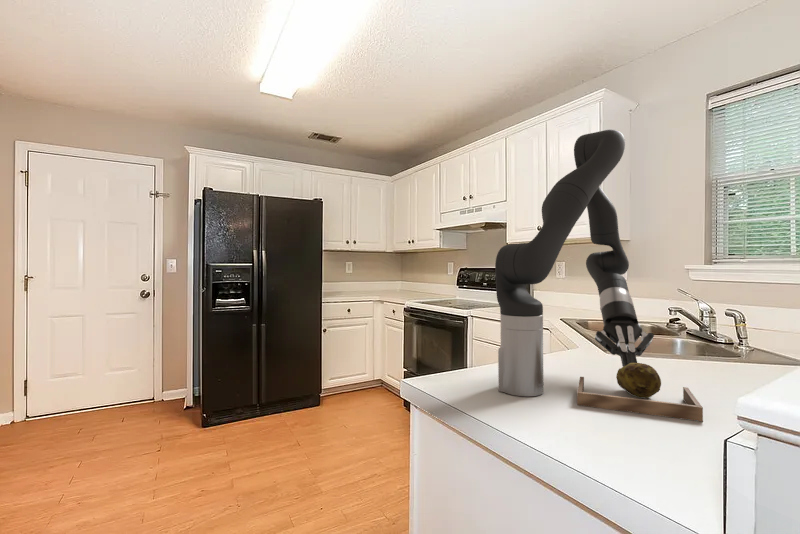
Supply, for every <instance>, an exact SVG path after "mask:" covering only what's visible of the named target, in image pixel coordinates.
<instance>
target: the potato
mask: <svg viewBox="0 0 800 534" xmlns="http://www.w3.org/2000/svg"><path fill="white" fill-rule="evenodd" d="M616 382H617V384H618V386H619V387H620V388H621V389H622V390H624V391H626V392H628V394H630V395H631V396H634V397H635V398H636V397H637V398H639V399H648V398H651V397H653V396H654V395H656V394H657V393H658V392H659V391H661V386H662V380H661V376H660V374H659V373H658V372H657V370H656V369H655V368H654V367H653V366H651V365H650V364H646V363H642V362H641V363H640V362H637V363H630V364H628V365H626V366H624V367H623V366H622V367H619V369H618V370H617V373H616Z"/></svg>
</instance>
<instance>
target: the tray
mask: <svg viewBox="0 0 800 534" xmlns="http://www.w3.org/2000/svg"><path fill="white" fill-rule="evenodd" d="M682 388H683V389H682V392H683V395H682V396H683V398H682V399H683V400H684V402H685V403H680V402H679V403H678V402H672V401H671V402H669V401H659V400H651V399H646V398H638V397H637V398H636V397H626V396H620V395H609V394H602V393H592V392H584V391H585V377H584V376H579V382H578V387H577V391H576V392H577V393H576V395H577V396H576V397H577V398H576V399H577V400H576V401H577V402H576V403H577V406H581V405H582V407H590V408H591V407H592V408H598V409H603V410H604V409H605V410H612V411H613V410H614V411H618V412H619V411H621V412H628V413H637V414H643V415H652V416H657V415H658V416H659V417H665V416H666V418H667V417H668V418H672V417H674V418H673V419H680V418H682V420H688V419H690V420H689V421H695V420H698V421H697V422H703V421H704V411H703V410H704V409H703V406H702V404H701V403H700V402H699V401H698V399H697V398H696V396H695V395H694V394H693V393H692V391H691V390H690V388H689V387H687V386H686V387H685V386H684V387H682Z"/></svg>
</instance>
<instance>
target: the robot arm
mask: <svg viewBox="0 0 800 534" xmlns="http://www.w3.org/2000/svg"><path fill="white" fill-rule="evenodd" d="M625 141H626V139H625V136H624V135H623V133H622V132H621V131H619V130H616V129H605V130H600V131H596V132H590V133H586V134H582V135H580V136H579V137H577V139H576V141H575V143H574V147H573V156H574V157H573V158H574V163H575V167H576V168H575V169H573V170H572V171H570V172H569V173H567V174H565V175H564V176H563V177H561V179H559V180H558V181H557V182H556V183H555V184H554V186H553V187H552V188H551V189H550V190H549V192H548V194H547V195H546V196H545V198H544V200H543V201H542V205H541V218H542V223H543V224H542V226H541V228H540V230H539V231H538V232H537V234H536V235H535V236H534V238H533V239H532V240H530V241H529V242H523V243H522V242H521V243H511V244H509V243H508V244H506V245H503V246H502V247H500V248H499V250H498V251H497V253H496V256H495V257H496V258H495V267H494V268H495V269H494V270H495V273H494V274H495V275H494V276H495V287H496V289H495V290H496V299H497V303H498V305H499V308H500V309H499V310H500V317H499V318H500V347H498V350H497V351H498V352H497V354H498V355H497V357H498V361H497V362H498V365H497V366H498V375H497V377H498V381H497V382H498V392H501V393H506V394H508V395H512V396H517V397H518V396H519V397H535V396H536V397H537V396H541V395H543V394H544V384H545V383H544V307H543V303H542V302H541V301H540V300H538V299H537V298H535V297H533V296H532V295H531V294H530V293H529V291H528V289H527V285H537V284H540V283H542V282H543V281H544V280H546V279H547V277H548V276H549V274H550V273H551V271H552V269H553V267H554V265H555V262H556V261H557V258H558V256H559V255H560V252H561V250H562V248H563V246H564V244H565V242H566V240H567V238H568V237H569V235H570V233H571V231H572V230H573V228H574V227H575V225H576V224H577V222H578V221H579V219H580V218H581V216H582V214H583V213H584V212H585V209H586V208H587V215H588V222H589V233H590V234H589V236H590V240H591V242H592V244H594V245H598V246H608V247H610V248H611V249H612V250H607V251H597V252H592V253H590V254H589V255H588V256H587V257H586V261H585V266H586V269H587V272H588V274H589V275H590V277H591V278H592V279H593V281H594V283H595V284H596V287H597V291H598V296H599V307H600V308H599V309H600V313H601V317H602V322H603V328H602V330H601V331H599V330H598V331H595V336H594V340H595V341H596V342H597V343H598V344H600V345H601V346H602V347H603V348H604V349H605V350H606V351H608V352H609V354H611V355H613V356H614V355H618V357H620V361H621V366H622V367H624V366H626V365H628V364H630V363H638V360H637V357H640V356H642V355H643V353H644V352H645V351H646V350H647V348H648V347H649V346H650V345H651V343H652V342H653V339H654V337H655V334H654V333H652V332H649V333H648V332H646V331H644V330H643V328H642V326H640V324H639V320H638V317H637V313H636V309H635V306H634V302H633V301H634V300H633V298H632V296H631V295H630V291H629V287H628V283H627V280H626V278H625V276H623V275H625V274H626V273H627V272H628V271H629V267H630V266H629V265H630V262H629V259H628V256H627V255H626V254H627V253H626V252H625V250H624V248H623V245H622V242H621V237H620V233H619V221H618V214H617V210H616V207H615V205H614V204H613V202H612V201H611V200H610V198H609V197H608V195H607V194H606V192H605V191H604V190H603V189H602V187H601V185H602V184H603V182H604V181H605V180H606V179H607V177H608V176H609V175H610V173H612V172H613V170H614V169H615V168H616V166H618V164H619V163H620V161H621V160H622V157H623V155H624V152H625V149H626V142H625ZM640 337H641V338H640ZM639 338H640V340H641V342H640V343H639V344H638V345H637V347H636V346H635V343H636V342H637V341H638V339H639Z"/></svg>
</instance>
